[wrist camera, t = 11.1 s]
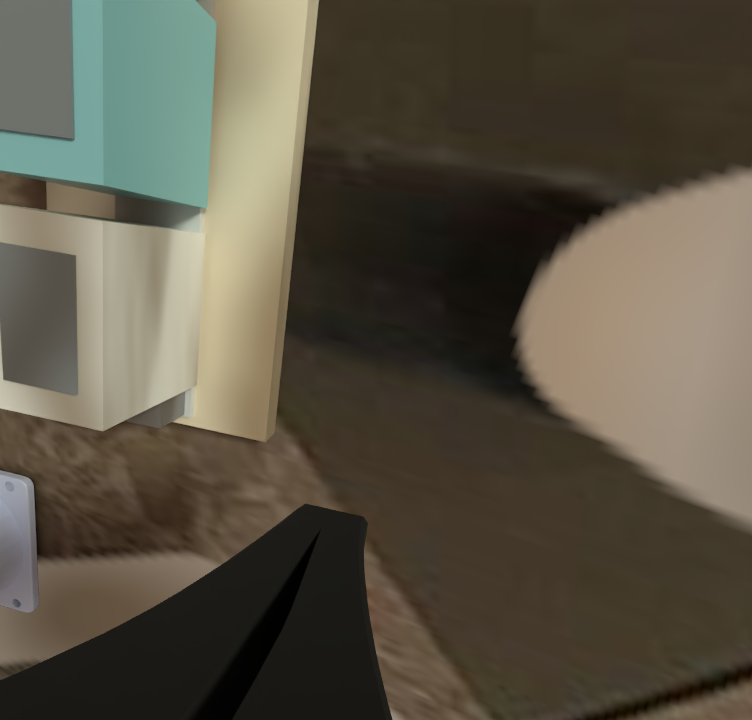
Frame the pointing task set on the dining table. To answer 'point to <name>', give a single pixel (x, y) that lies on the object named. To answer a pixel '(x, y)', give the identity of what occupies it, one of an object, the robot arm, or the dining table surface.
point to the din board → (245, 209)
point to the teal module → (109, 96)
